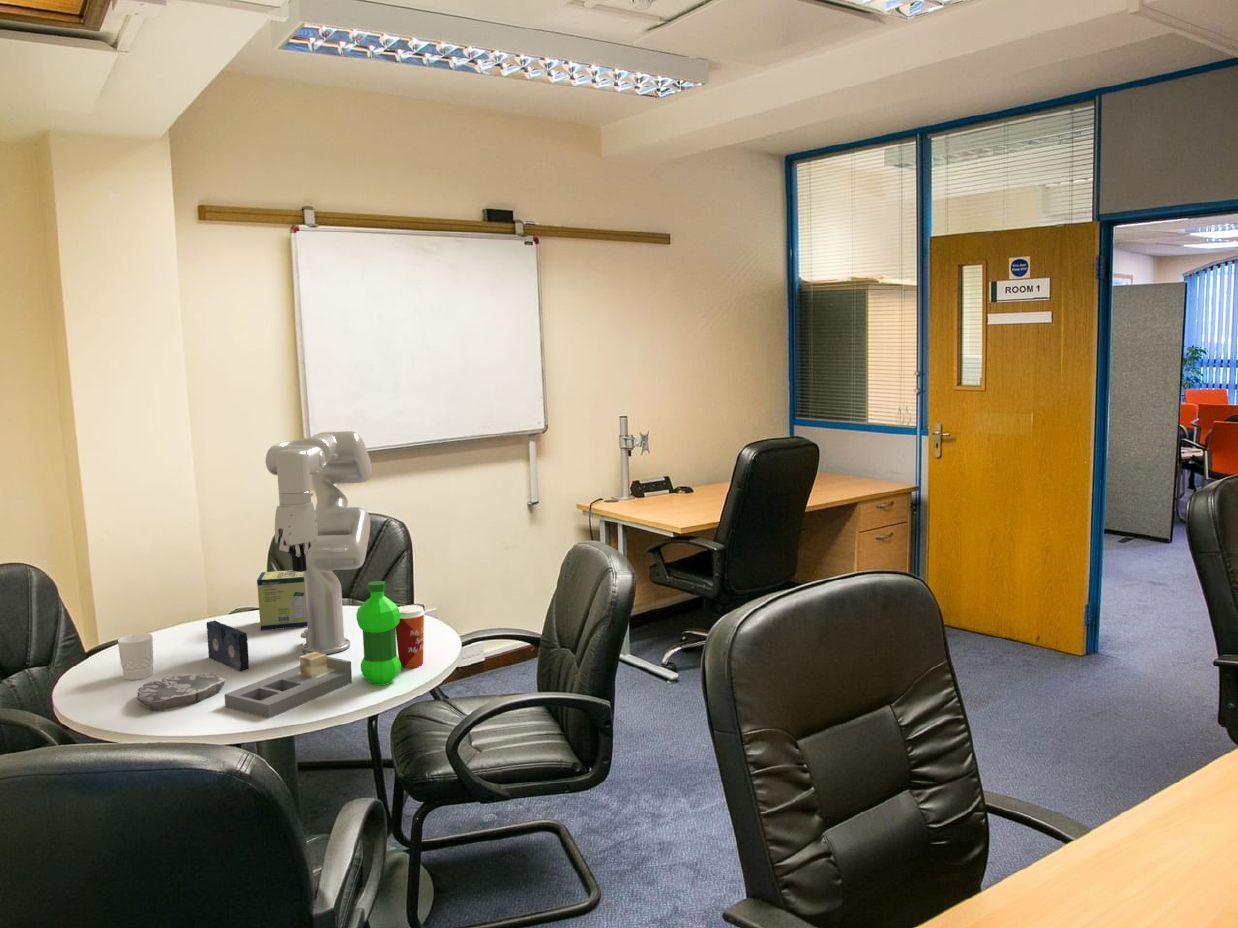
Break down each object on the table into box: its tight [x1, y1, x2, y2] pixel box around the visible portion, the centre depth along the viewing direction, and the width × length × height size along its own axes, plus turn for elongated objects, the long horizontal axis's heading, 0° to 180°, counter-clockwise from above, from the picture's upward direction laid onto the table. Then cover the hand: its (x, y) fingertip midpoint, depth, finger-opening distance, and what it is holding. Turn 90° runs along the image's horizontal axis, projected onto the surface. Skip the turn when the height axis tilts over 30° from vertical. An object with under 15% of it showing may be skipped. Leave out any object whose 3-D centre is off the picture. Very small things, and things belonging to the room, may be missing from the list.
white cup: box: [117, 632, 154, 681], centre depth 237 cm, size 8×8×10 cm
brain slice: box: [136, 673, 226, 711], centre depth 222 cm, size 20×17×3 cm
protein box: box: [256, 569, 307, 631], centre depth 281 cm, size 10×16×16 cm
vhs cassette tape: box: [206, 620, 250, 672], centre depth 245 cm, size 18×3×10 cm, turn 47°
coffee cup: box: [395, 604, 426, 669], centre depth 241 cm, size 8×8×15 cm
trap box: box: [224, 653, 353, 719], centre depth 222 cm, size 15×25×6 cm, turn 150°
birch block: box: [299, 652, 328, 678], centre depth 227 cm, size 4×4×4 cm
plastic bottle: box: [355, 580, 402, 686], centre depth 228 cm, size 10×10×25 cm
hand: (299, 570), depth 232 cm, fingers closed
